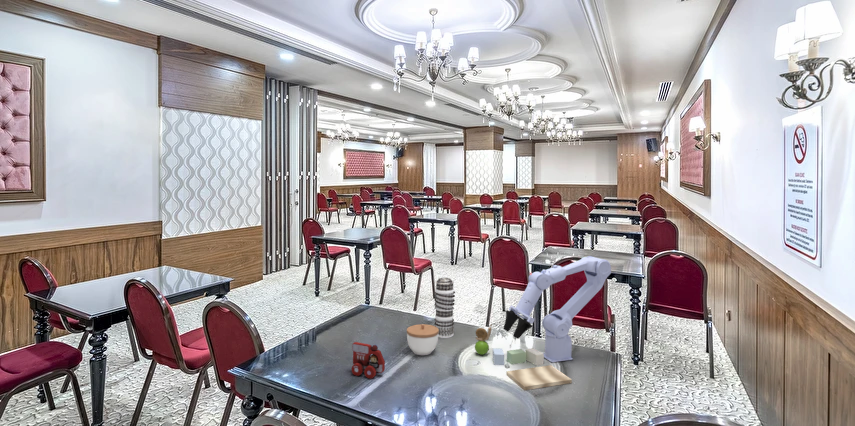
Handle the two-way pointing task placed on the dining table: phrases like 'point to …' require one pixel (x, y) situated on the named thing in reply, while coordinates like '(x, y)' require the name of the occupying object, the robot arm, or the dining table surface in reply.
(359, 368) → the toy fire truck
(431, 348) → the lidded bowl
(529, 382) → the birch board
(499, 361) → the blue brick
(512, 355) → the green brick
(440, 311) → the banded tower model
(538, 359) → the ivory brick
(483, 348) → the snail figurine
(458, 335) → the dining table surface
